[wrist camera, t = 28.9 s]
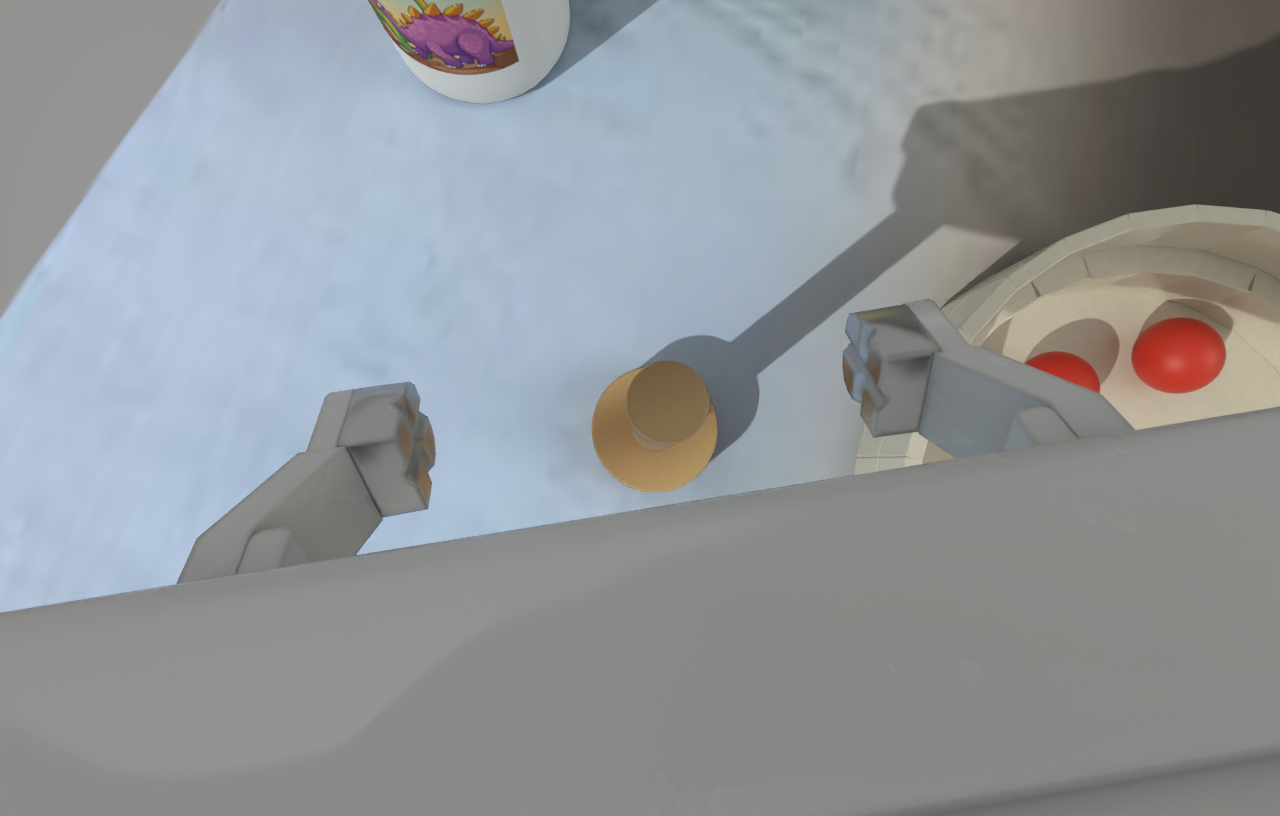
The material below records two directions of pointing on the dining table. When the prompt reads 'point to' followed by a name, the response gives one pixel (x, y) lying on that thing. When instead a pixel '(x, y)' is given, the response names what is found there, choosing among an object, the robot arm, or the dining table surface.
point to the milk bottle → (477, 43)
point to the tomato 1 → (1067, 368)
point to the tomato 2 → (1178, 355)
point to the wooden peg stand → (655, 427)
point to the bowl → (1130, 313)
